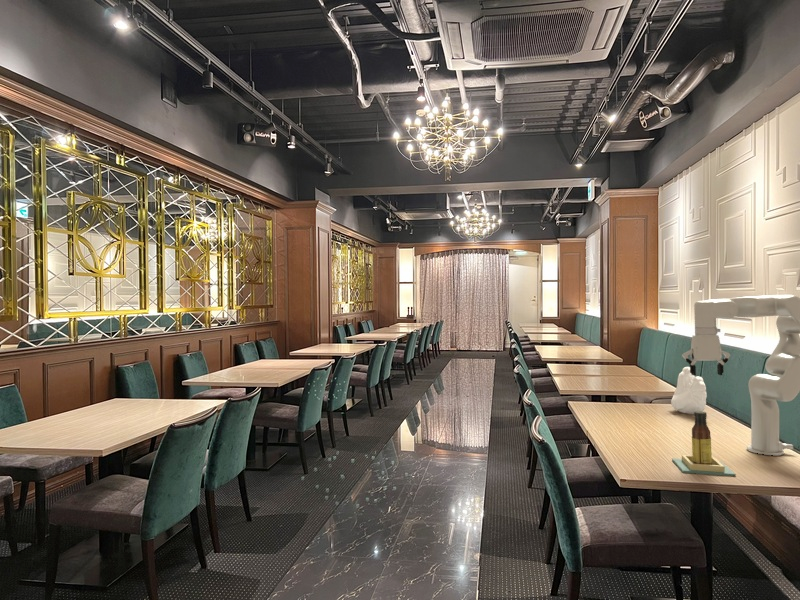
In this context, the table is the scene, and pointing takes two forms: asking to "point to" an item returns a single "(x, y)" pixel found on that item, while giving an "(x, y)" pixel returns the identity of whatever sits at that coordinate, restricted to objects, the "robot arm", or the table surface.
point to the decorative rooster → (689, 393)
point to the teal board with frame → (702, 467)
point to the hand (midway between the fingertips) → (706, 374)
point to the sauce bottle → (701, 440)
